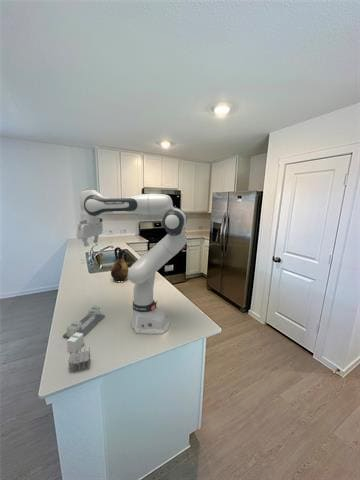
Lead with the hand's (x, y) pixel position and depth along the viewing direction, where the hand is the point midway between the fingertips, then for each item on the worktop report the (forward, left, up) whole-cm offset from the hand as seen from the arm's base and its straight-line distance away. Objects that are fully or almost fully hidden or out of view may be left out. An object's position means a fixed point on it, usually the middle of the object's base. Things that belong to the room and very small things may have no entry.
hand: (91, 244), depth 111 cm
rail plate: (0, +8, -45) cm, 46 cm away
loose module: (-6, +24, -46) cm, 52 cm away
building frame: (-15, +33, -46) cm, 58 cm away
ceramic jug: (+15, -59, -46) cm, 76 cm away
